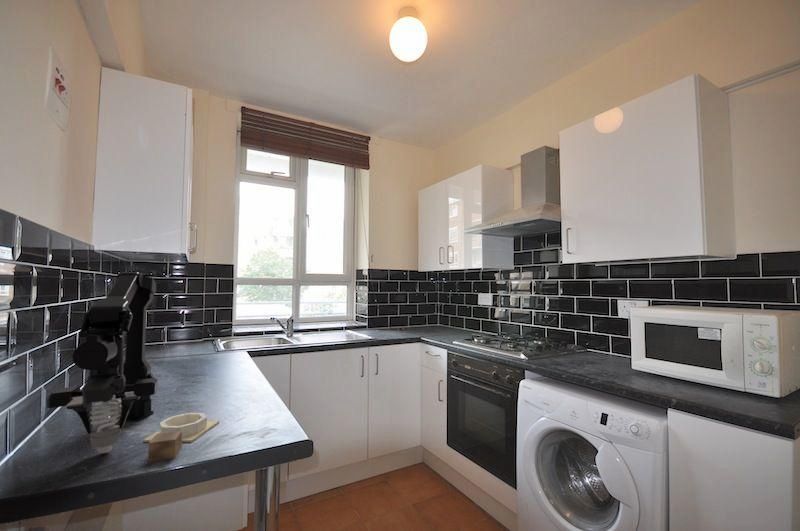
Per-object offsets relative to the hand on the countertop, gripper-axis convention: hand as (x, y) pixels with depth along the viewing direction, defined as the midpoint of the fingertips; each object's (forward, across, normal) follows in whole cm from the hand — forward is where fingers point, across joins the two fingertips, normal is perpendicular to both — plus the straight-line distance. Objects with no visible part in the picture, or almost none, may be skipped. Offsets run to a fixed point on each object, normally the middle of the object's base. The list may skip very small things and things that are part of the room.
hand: (105, 430), depth 81 cm
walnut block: (+5, +12, -7) cm, 15 cm away
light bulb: (+5, 0, 0) cm, 5 cm away
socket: (+5, +15, +5) cm, 16 cm away
